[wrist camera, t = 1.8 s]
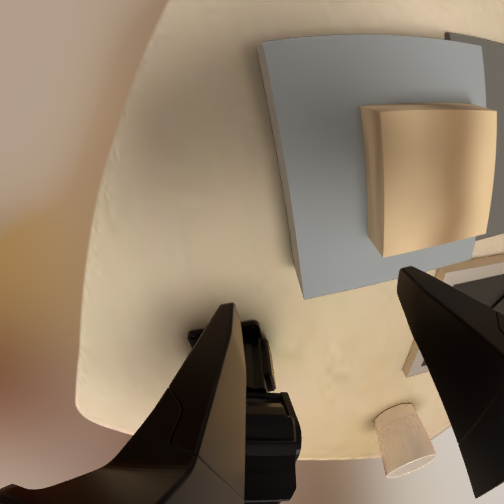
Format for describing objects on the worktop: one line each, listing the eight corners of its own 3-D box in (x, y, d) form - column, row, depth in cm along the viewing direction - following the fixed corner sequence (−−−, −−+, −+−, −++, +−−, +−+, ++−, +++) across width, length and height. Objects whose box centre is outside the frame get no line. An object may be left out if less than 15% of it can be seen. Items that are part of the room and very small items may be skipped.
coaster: (367, 236, 19) (383, 257, 17) (360, 106, 15) (380, 111, 12) (465, 216, 18) (485, 233, 16) (470, 103, 14) (496, 111, 12)
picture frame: (547, 241, 26) (435, 260, 26) (560, 253, 24) (449, 277, 24) (508, 330, 34) (400, 365, 34) (517, 343, 32) (407, 382, 32)
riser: (294, 266, 24) (304, 299, 21) (256, 49, 16) (262, 41, 13) (446, 234, 24) (471, 259, 20) (446, 45, 15) (481, 46, 12)
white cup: (386, 403, 38) (406, 461, 29) (425, 398, 39) (446, 450, 31) (362, 428, 42) (376, 482, 33) (400, 423, 43) (416, 471, 34)
